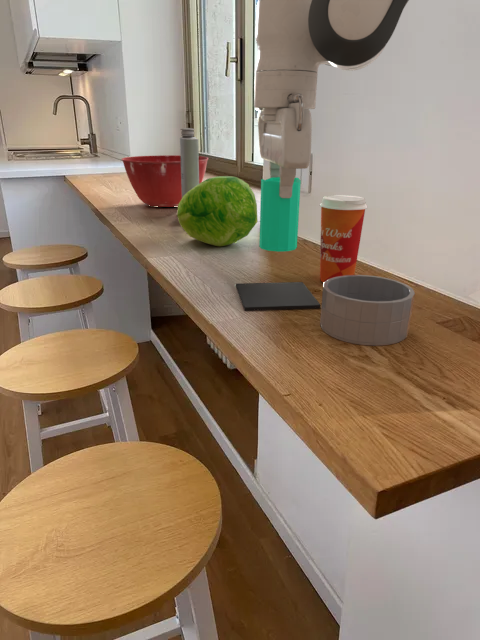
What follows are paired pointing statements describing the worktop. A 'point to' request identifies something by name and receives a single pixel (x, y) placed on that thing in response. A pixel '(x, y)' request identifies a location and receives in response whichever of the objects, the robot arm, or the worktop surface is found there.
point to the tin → (366, 309)
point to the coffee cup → (340, 234)
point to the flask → (189, 160)
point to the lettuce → (218, 211)
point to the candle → (278, 216)
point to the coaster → (276, 296)
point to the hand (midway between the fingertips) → (280, 194)
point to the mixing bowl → (158, 178)
